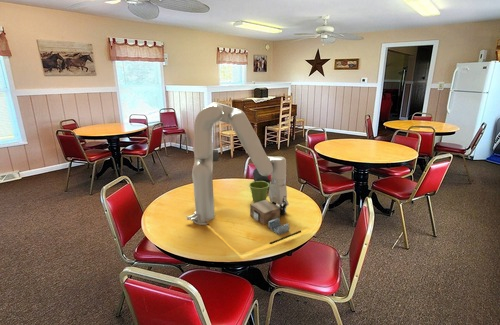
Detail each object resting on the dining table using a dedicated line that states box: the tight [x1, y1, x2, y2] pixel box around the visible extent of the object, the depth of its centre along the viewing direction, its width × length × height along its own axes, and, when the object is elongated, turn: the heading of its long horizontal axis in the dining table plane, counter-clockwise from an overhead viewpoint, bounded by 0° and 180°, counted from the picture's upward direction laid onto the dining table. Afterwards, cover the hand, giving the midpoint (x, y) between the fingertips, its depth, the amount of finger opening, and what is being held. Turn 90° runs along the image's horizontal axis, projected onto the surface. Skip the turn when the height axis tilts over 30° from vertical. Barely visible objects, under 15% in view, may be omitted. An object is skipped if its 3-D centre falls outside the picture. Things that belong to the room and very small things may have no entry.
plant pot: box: [248, 181, 270, 203], centre depth 167 cm, size 12×12×11 cm
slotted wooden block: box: [249, 199, 281, 226], centre depth 147 cm, size 10×12×8 cm
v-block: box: [267, 218, 302, 245], centre depth 136 cm, size 18×12×5 cm, turn 124°
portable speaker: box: [252, 168, 271, 190], centre depth 193 cm, size 26×10×10 cm, turn 4°
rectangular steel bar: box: [253, 203, 287, 223], centre depth 149 cm, size 18×4×4 cm, turn 123°
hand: (277, 212), depth 152 cm, fingers open, 6 cm apart
